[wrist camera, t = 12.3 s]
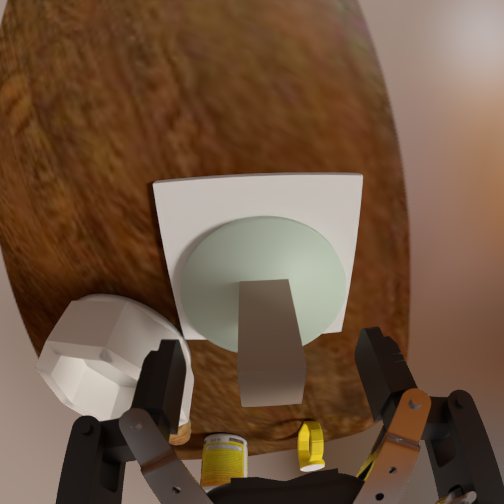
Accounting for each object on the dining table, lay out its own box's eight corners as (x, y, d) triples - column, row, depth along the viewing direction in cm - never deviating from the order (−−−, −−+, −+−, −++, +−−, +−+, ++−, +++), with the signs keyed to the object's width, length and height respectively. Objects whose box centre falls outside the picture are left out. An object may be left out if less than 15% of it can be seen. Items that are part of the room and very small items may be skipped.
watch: (311, 433, 32) (316, 473, 27) (290, 434, 32) (293, 475, 27) (325, 414, 29) (332, 460, 24) (301, 415, 29) (307, 462, 24)
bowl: (46, 292, 20) (14, 335, 15) (176, 292, 20) (159, 350, 15) (94, 382, 26) (79, 422, 21) (201, 391, 26) (196, 439, 21)
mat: (155, 180, 16) (152, 183, 16) (359, 172, 16) (362, 175, 16) (185, 333, 22) (184, 339, 22) (339, 326, 22) (340, 331, 22)
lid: (169, 220, 17) (124, 304, 10) (351, 212, 17) (411, 288, 10) (195, 349, 22) (183, 436, 15) (332, 342, 22) (356, 425, 15)
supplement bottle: (196, 433, 31) (189, 506, 22) (238, 429, 30) (238, 506, 21) (214, 449, 33) (211, 514, 24) (253, 445, 33) (255, 513, 24)
